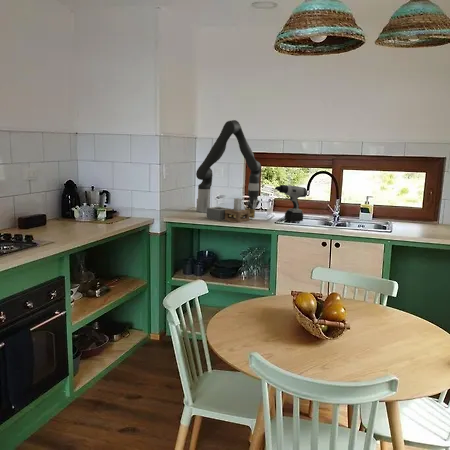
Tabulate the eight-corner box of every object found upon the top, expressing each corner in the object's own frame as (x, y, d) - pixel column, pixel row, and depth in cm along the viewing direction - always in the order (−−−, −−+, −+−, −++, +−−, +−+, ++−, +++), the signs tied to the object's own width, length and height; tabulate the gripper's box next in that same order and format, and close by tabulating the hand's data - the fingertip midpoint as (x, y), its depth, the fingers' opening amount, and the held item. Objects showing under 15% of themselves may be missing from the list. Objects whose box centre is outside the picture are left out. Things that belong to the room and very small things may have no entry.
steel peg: (233, 220, 327) (234, 198, 325) (236, 219, 330) (237, 198, 327) (237, 221, 325) (238, 199, 322) (240, 220, 328) (241, 198, 325)
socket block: (235, 218, 336) (236, 208, 335) (249, 220, 328) (249, 210, 327) (224, 220, 327) (224, 209, 326) (238, 222, 319) (238, 212, 318)
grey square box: (206, 218, 332) (206, 208, 331) (218, 216, 341) (218, 206, 340) (219, 220, 324) (219, 210, 323) (231, 218, 333) (231, 208, 332)
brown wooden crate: (245, 216, 340) (245, 208, 339) (254, 217, 335) (254, 209, 334) (227, 218, 326) (228, 210, 325) (236, 220, 321) (237, 211, 320)
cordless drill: (271, 219, 336) (273, 184, 332) (300, 218, 346) (302, 184, 342) (276, 221, 329) (279, 185, 325) (306, 220, 340) (309, 185, 335)
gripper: (255, 188, 344) (253, 212, 347) (243, 189, 334) (242, 214, 337) (263, 189, 339) (262, 213, 342) (252, 190, 329) (250, 215, 332)
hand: (252, 214), depth 340 cm, fingers closed
